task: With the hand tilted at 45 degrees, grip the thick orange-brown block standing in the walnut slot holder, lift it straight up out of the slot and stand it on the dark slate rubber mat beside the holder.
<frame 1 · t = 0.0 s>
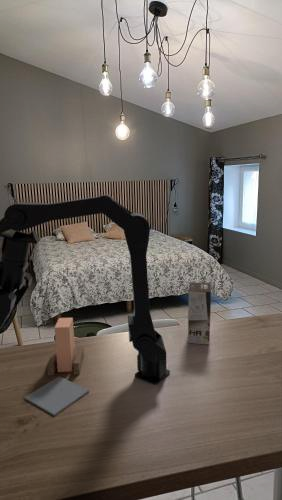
hand: (3, 322, 80), 15 cm above the table, tool pointing down, fingers open, 9 cm apart
coffee box: (199, 337, 105), on the table
slot holder: (66, 365, 91), on the table
slate mat: (57, 395, 78), on the table
thick orange-brown block: (66, 365, 91), on the table
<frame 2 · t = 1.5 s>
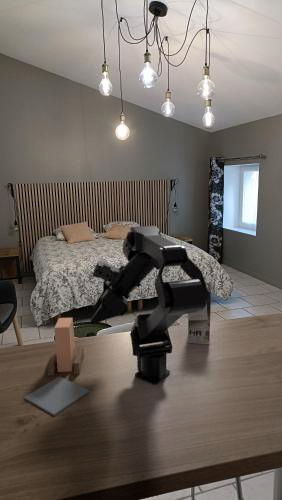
hand: (93, 315, 88), 14 cm above the table, tool tilted 45°, fingers open, 9 cm apart
nothing on the table moved.
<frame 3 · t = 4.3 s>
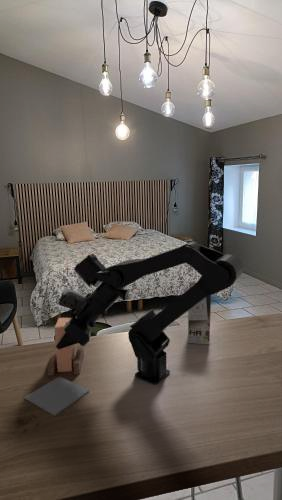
hand: (59, 342, 89), 7 cm above the table, tool tilted 45°, fingers closed on thick orange-brown block, 6 cm apart
thick orange-brown block: (66, 365, 91), on the table, touching gripper
everything else where it was.
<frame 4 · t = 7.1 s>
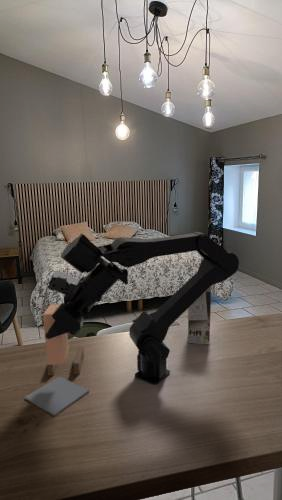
hand: (50, 331, 80), 14 cm above the table, tool tilted 45°, fingers closed on thick orange-brown block, 6 cm apart
thick orange-brown block: (58, 357, 81), point 7 cm above the table, touching gripper
everything else where it was.
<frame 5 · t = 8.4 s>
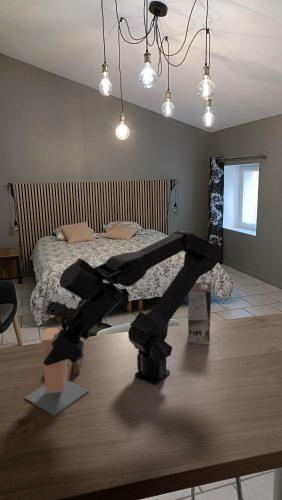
hand: (48, 356, 76), 10 cm above the table, tool tilted 45°, fingers closed on thick orange-brown block, 6 cm apart
thick orange-brown block: (56, 383, 78), point 3 cm above the table, touching gripper
everything else where it was.
when the fingers open (8 cm above the table, at t = 9.7 s): thick orange-brown block stays where it is, resting on slate mat.
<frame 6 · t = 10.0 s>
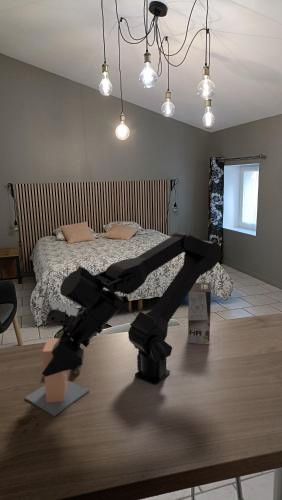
hand: (48, 363, 77), 8 cm above the table, tool tilted 45°, fingers open, 9 cm apart
thick orange-brown block: (57, 393, 78), resting on slate mat
everything else where it was.
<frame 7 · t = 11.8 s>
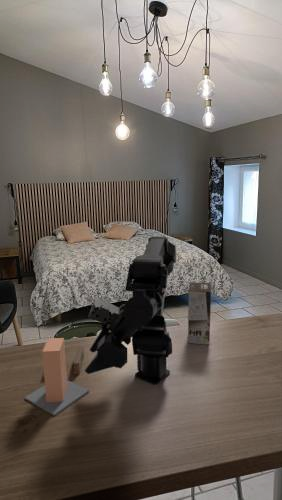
hand: (89, 361, 77), 8 cm above the table, tool tilted 45°, fingers open, 9 cm apart
nothing on the table moved.
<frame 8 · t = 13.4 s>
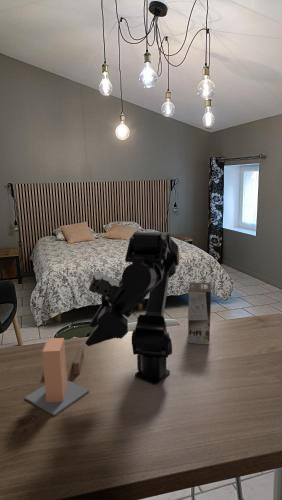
hand: (89, 334, 77), 14 cm above the table, tool tilted 45°, fingers open, 9 cm apart
nothing on the table moved.
at the end: thick orange-brown block inside the target area (0.0 cm from its centre), resting on slate mat; thick orange-brown block tilted 0°; the gripper is holding nothing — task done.
